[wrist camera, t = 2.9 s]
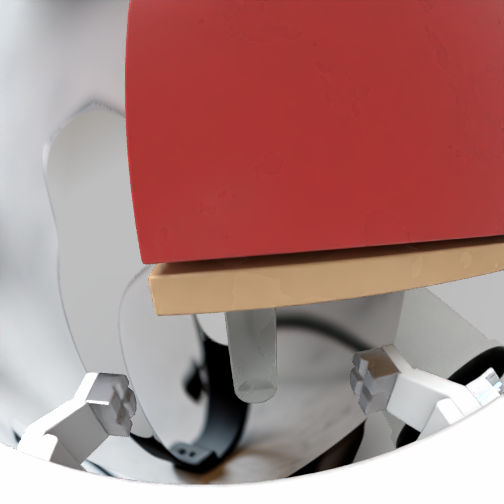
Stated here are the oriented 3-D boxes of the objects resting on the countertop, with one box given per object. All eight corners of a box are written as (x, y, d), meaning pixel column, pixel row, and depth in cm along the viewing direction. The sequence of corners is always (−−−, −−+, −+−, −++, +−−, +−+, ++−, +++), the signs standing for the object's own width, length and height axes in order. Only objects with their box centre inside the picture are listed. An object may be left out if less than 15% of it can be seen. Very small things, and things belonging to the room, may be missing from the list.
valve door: (365, 257, 22) (501, 380, 7) (216, 270, 21) (202, 462, 7) (368, 180, 20) (549, 237, 5) (208, 187, 19) (146, 276, 5)
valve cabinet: (367, 177, 20) (553, 230, 5) (208, 183, 19) (141, 266, 4) (359, 64, 17) (517, -14, 2) (201, 60, 16) (152, -107, 2)
